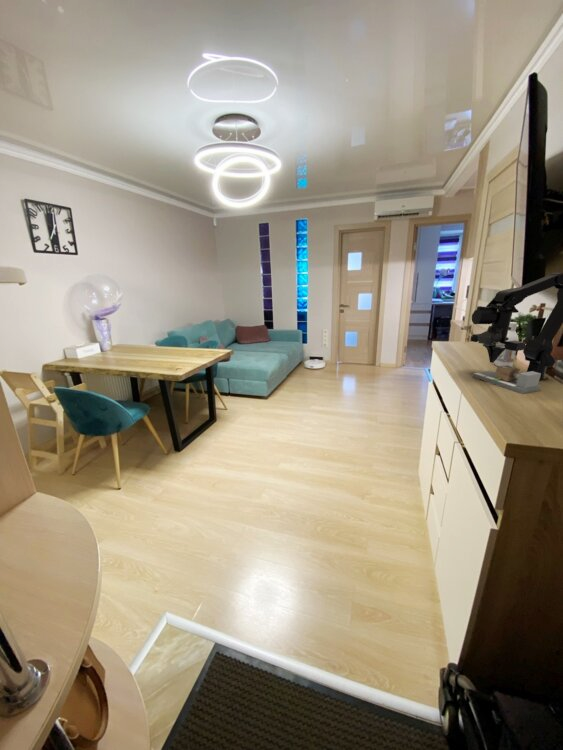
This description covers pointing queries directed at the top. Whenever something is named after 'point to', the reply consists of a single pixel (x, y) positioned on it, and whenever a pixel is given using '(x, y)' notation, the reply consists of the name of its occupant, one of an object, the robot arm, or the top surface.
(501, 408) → the top surface
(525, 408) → the top surface
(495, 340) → the robot arm
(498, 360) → the bath foam
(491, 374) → the gauge rail
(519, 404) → the top surface
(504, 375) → the gauge carriage
